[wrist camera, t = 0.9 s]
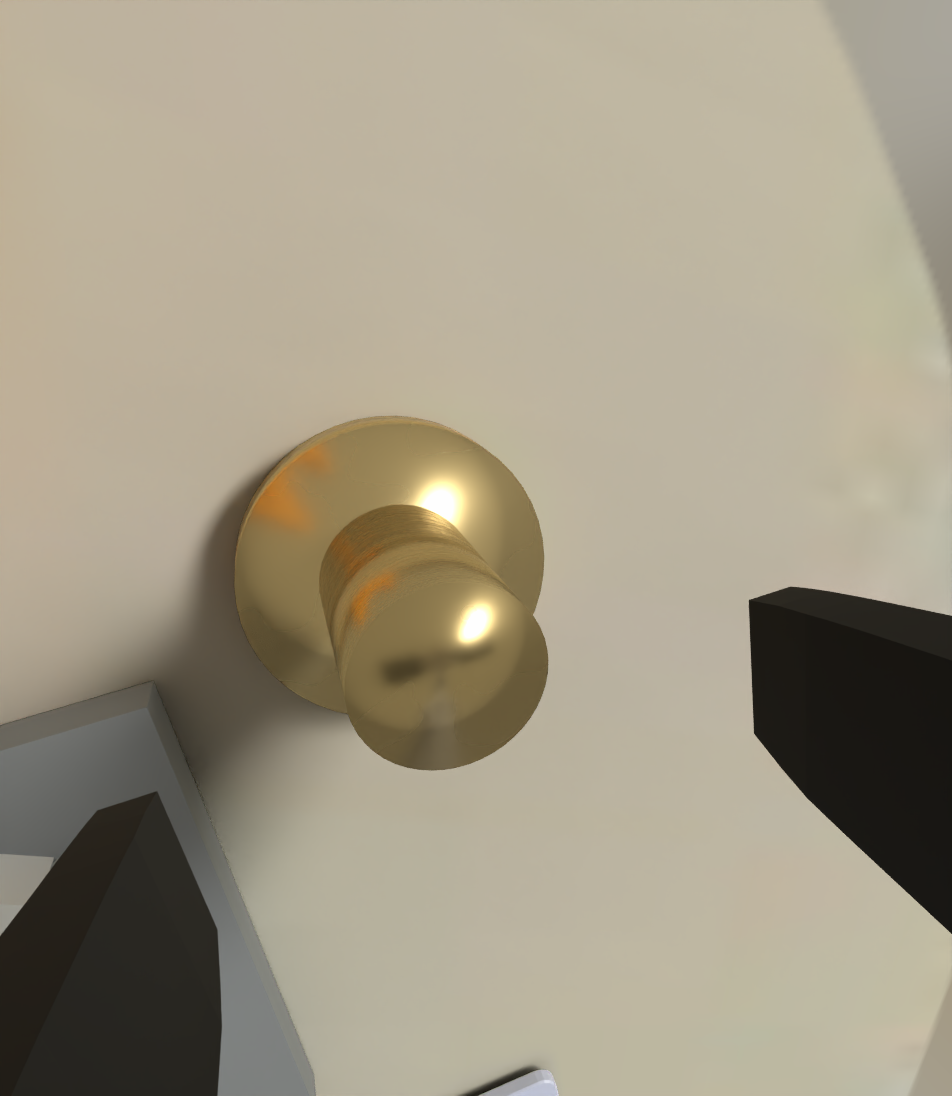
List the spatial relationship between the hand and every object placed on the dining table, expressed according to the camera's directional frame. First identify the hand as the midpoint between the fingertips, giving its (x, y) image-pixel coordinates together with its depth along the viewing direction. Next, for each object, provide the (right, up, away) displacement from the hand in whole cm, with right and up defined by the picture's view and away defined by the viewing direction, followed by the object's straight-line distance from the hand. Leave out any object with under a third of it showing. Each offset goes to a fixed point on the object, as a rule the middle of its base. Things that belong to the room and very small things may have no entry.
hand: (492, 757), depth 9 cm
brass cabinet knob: (-2, +2, +6) cm, 7 cm away
